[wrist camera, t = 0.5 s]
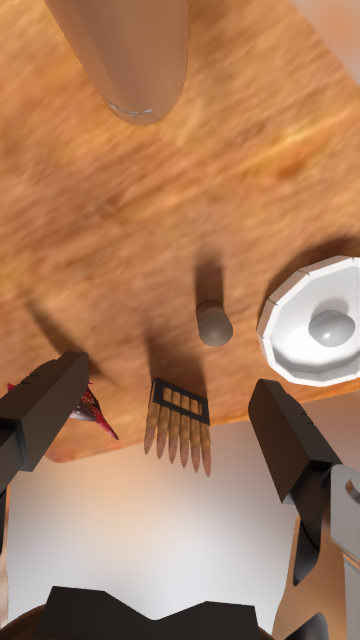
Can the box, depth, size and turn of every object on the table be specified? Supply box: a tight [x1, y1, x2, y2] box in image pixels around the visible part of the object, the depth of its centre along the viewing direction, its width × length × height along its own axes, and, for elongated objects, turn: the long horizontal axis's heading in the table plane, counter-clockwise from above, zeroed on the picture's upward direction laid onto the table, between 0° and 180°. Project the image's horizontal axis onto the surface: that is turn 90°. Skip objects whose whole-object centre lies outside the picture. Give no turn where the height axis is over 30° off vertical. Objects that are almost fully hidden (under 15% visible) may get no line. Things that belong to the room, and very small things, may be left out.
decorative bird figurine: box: [7, 382, 119, 440], centre depth 29 cm, size 3×18×10 cm, turn 43°
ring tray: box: [256, 255, 360, 387], centre depth 27 cm, size 19×19×2 cm
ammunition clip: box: [144, 378, 211, 477], centre depth 29 cm, size 11×2×12 cm, turn 61°
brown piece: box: [196, 301, 233, 347], centre depth 25 cm, size 4×4×6 cm
